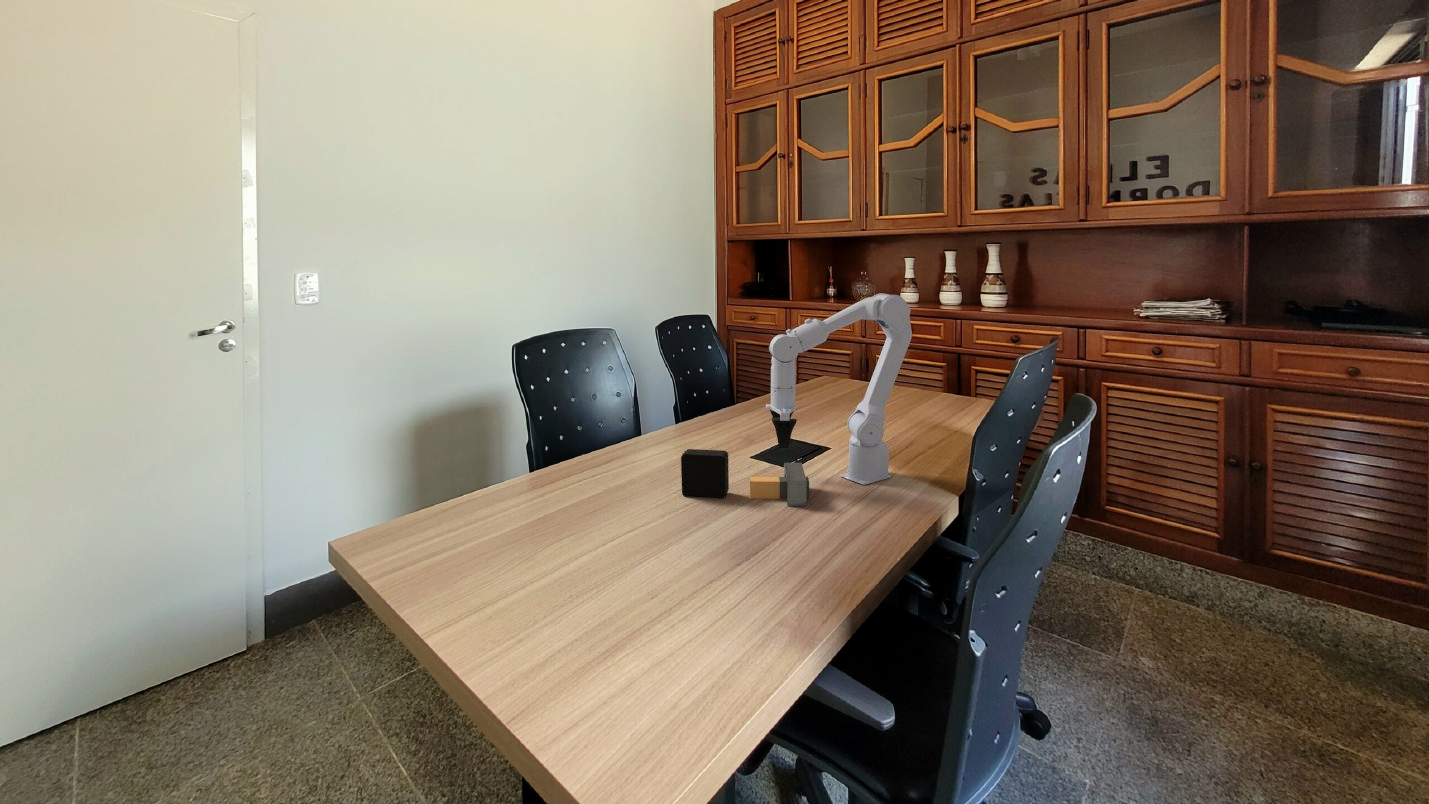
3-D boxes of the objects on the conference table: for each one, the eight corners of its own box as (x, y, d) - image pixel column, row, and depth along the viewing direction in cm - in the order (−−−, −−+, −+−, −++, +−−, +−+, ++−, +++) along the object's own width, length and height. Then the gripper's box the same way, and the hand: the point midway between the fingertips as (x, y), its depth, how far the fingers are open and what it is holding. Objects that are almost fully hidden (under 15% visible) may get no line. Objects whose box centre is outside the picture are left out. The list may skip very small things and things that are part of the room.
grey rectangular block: (801, 486, 142) (801, 462, 141) (806, 506, 131) (806, 480, 129) (783, 486, 143) (784, 462, 141) (787, 506, 131) (787, 480, 130)
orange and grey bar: (807, 493, 138) (807, 476, 137) (808, 498, 135) (809, 481, 134) (750, 493, 139) (750, 476, 138) (750, 498, 136) (750, 481, 135)
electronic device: (725, 499, 135) (725, 456, 133) (681, 496, 137) (680, 454, 135) (728, 492, 139) (728, 450, 137) (686, 489, 141) (685, 448, 139)
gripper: (764, 381, 149) (764, 434, 152) (767, 393, 135) (766, 451, 138) (793, 380, 148) (793, 434, 151) (799, 393, 134) (798, 451, 137)
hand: (782, 442), depth 144 cm, fingers open, 7 cm apart
